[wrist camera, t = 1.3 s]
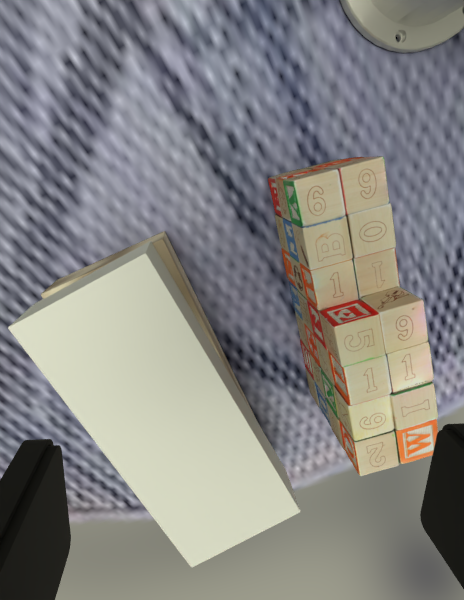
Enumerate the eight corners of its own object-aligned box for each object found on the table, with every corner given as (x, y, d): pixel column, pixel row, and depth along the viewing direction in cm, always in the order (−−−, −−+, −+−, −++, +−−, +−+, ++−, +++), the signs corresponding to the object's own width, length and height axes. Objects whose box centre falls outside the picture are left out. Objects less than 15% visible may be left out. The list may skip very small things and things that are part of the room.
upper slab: (150, 240, 31) (145, 252, 26) (285, 469, 38) (300, 511, 34) (34, 304, 31) (7, 327, 27) (190, 519, 39) (191, 567, 34)
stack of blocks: (264, 177, 35) (306, 178, 23) (335, 158, 35) (412, 151, 24) (310, 394, 42) (360, 480, 30) (369, 377, 42) (443, 456, 30)
